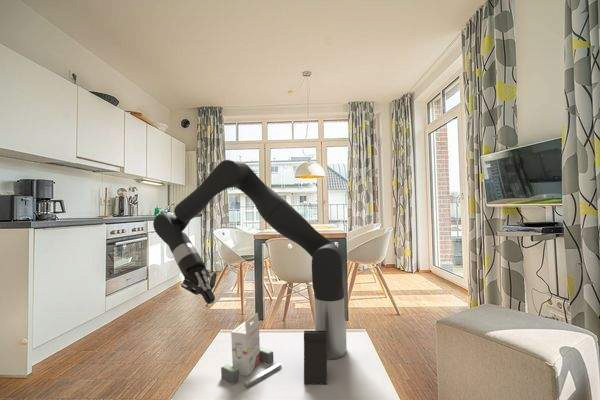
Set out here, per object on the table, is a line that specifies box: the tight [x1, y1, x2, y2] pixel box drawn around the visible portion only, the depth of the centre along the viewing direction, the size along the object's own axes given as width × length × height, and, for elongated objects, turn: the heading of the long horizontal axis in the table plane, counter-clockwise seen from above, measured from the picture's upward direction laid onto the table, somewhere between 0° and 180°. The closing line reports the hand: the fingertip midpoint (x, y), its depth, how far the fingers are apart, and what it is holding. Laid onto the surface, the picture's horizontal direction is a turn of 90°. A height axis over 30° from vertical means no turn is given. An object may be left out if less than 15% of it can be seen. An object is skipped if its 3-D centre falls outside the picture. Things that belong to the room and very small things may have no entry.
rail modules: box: [220, 346, 275, 385], centre depth 95 cm, size 15×5×3 cm, turn 141°
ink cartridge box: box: [230, 312, 261, 376], centre depth 96 cm, size 9×5×15 cm, turn 163°
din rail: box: [243, 362, 282, 389], centre depth 91 cm, size 13×1×1 cm, turn 141°
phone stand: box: [303, 330, 328, 385], centre depth 91 cm, size 9×6×12 cm, turn 174°
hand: (211, 302), depth 105 cm, fingers closed
